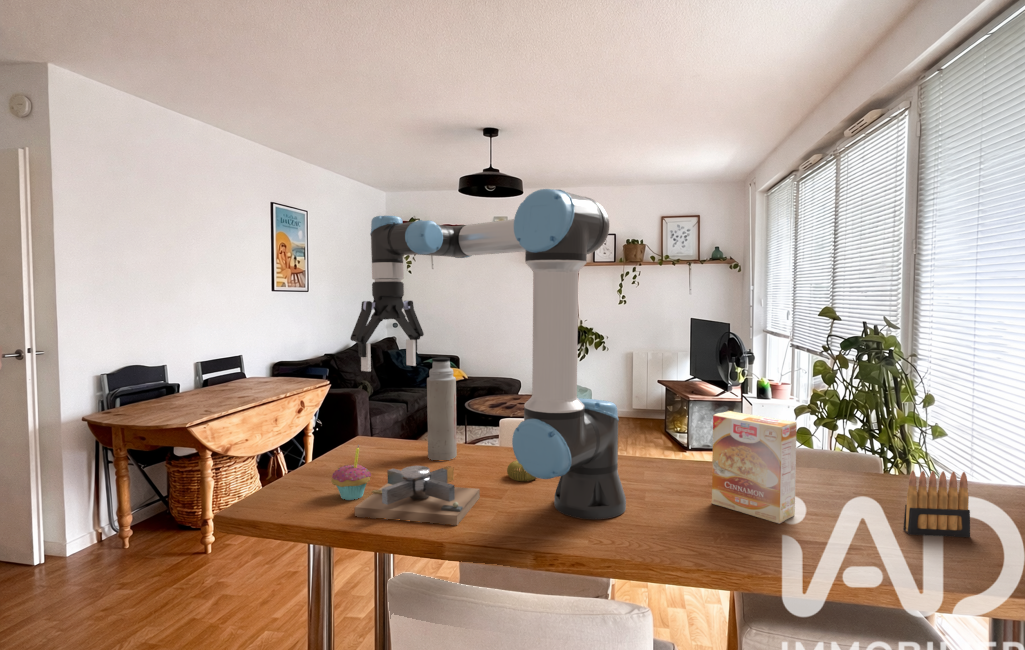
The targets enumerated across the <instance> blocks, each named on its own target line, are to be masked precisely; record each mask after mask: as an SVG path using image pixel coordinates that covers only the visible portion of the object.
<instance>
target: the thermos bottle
mask: <svg viewBox="0 0 1025 650" xmlns="http://www.w3.org/2000/svg"><path fill="white" fill-rule="evenodd" d="M450 359H451V357H443V356H442V357H441V356H440V357H439V356H438V357H432V358H431V361H432V368H430V369H429V373H428V375H429V377H427V378H426V390H427V391H426V399H427V400H426V401H427V402H426V405H427V408H426V411H427V458H429V459H428V460H430V459H431V460H430V461H433V460H449V461H451V460H450V459H453V458H455V457H456V456H457V451H458V450H457V446H458V445H457V443H458V441H457V378H456V377H455V376H454V374H455V372H454V369H453V368H452V367H451V362H450V361H451V360H450ZM456 458H457V457H456ZM456 458H455V459H456ZM453 460H454V459H453Z"/></svg>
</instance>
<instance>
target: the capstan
mask: <svg viewBox="0 0 1025 650" xmlns="http://www.w3.org/2000/svg"><path fill="white" fill-rule="evenodd" d="M454 471H455V470H454V466H451V465H450V466H449V465H446V466H444V467H441V468H438V469H435V470H432V471H431V470H430V467H428V466H425V465H411V466H406V467H404V468H402V469H401V470H400V469H397V468H391V469H387V483H388V484H391V486H388V487H385V488H382V503H383V504H386V505H388V504H391V503H394V502H396V501H399V500H402V499H405V498H407V497H410V498H412V499H425V498H428V497H429V496H431V497H435V498H438V499H442V500H445V501H448V502H450V501H452V500H455V487H456V486H455V484H451V482H454V481H455V476H454Z"/></svg>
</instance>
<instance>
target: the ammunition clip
mask: <svg viewBox="0 0 1025 650" xmlns="http://www.w3.org/2000/svg"><path fill="white" fill-rule="evenodd" d="M928 478H929V479H928V485H927V476H926V472H925V470H922V471H921V472H920V475H919V479H918V486H917V476H916V472H915V471H914V470H913V469H912V471H911V472H910V474H909V479H908V486H907V491H906V504H905V505H904V518H903V528H902V530H903V531H904V532H905V533H906V534H908V535H910V536H931V537H951V538H952V537H953V538H955V537H956V538H971V510H970V509H969V502H970V501H969V491H968V490H969V488H968V486H969V485H968V477H967V474H966V472H965V471H963V472H962V473H961V475H960V480H959V487H958V479H957V475H956V472H955V471H952V472H951V474H950V477H949V481H948V482H949V483H948V482H947V476H946V472H945V471H944V470H943V471H942V470H941V473H940V476H939V480H938V484H937V476H936V473H935V471H934V470H932V471H931V473H930V475H929V477H928ZM947 483H948V484H949V485H947ZM937 485H938V486H937ZM917 487H918V488H917ZM937 488H938V489H937Z"/></svg>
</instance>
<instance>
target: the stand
mask: <svg viewBox="0 0 1025 650" xmlns="http://www.w3.org/2000/svg"><path fill="white" fill-rule="evenodd" d="M388 486H391V484H388V482H387V483H385V484H384V485H382V486H381V487H380V488H379V489H373V490H372V491H371V493H372V494H371V495H369V496H368V497H367V498H365V499H363V500H362V501H361V502H359V503H358V504H357V505H356V506H354V517H355V516H357V517H356V518H365V517H368V519H376V518H386V519H385V520H388V519H400V520H410V521H420V522H419V523H422V522H430V523H429V524H433V523H440V524H439V525H445V524H451V525H450V526H456V525H457V526H458V525H459V524H460V523H461V521H462V520H463V519H464V518H465V516H467V514H468V513H469V511H471V510H472V508H473V506H474V505H475V504H476V503H477V501H478V500H479V499H480V493H481V492H480V488H475V487H474V488H471V487H461V486H460V487H458V486H454V487H455V500H452V501H450V502H448V501H445V500H442V499H438V498H435V497H431V496H429V497H428V498H425V499H412V498H410V497H407V498H405V499H402V500H399V501H396V502H394V503H391V504H388V505H386V504H383V503H382V488H385V487H388ZM369 517H370V518H369ZM410 521H409V522H410ZM459 522H460V523H459Z"/></svg>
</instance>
